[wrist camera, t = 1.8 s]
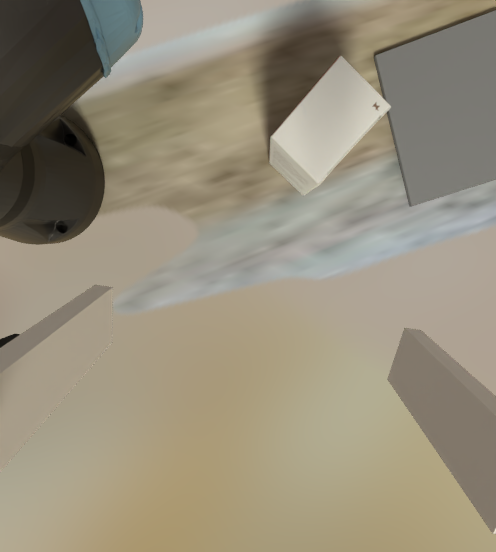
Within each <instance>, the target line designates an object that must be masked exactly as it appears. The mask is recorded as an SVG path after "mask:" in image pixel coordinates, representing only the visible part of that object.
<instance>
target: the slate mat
mask: <svg viewBox="0 0 496 552" xmlns="http://www.w3.org/2000/svg"><path fill="white" fill-rule="evenodd" d="M374 61H375V65H376V69H377V73H378V77H379V81H380V85H381V90H382V94H383V98H384V100H385V101H386V102H387V103H388V104H389V105H390V106H391V108H390V109H389V110H388V111H387V114H388V119H389V123H390V127H391V131H392V135H393V139H394V144H395V148H396V152H397V156H398V160H399V164H400V168H401V173H402V177H403V181H404V185H405V189H406V193H407V197H408V202H409V206H414V205H417V204H421V203H424V202H427V201H430V200H433V199H436V198H439V197H442V196H446V195H449V194H452V193H455V192H458V191H461V190H464V189H468V188H471V187H474V186H477V185H480V184H483V183H486V182H489V181H493V180H496V10H495V11H492V12H490V13H487V14H484V15H482V16H479V17H476V18H474V19H471V20H468V21H466V22H463V23H460V24H458V25H455V26H452V27H450V28H447V29H444V30H442V31H439V32H436V33H434V34H431V35H428V36H426V37H423V38H420V39H418V40H415V41H412V42H410V43H407V44H404V45H402V46H399V47H397V48H394V49H391V50H389V51H386V52H383V53H381V54H378V55H375V57H374Z"/></svg>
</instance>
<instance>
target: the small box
mask: <svg viewBox="0 0 496 552" xmlns="http://www.w3.org/2000/svg"><path fill="white" fill-rule="evenodd" d="M390 108H391V106H390V105H389V104H388V103H387V102H386V101H385V100H384V99H383V97H382V96H381V95H380V94H379V93H378V92H377V91H376V90H375V89H374V88H373V87H372V86H371V85H370V84H369V83H368V82H367V81H366V80H365V79H364V78H363V77H362V76H361V75H360V74H359V73H358V72H357V71H356V70H355V69H354V68H353V67H352V66H351V65H350V64H349V63H348V62H347V61H346V60H345V59H344V58H343V57H342V56H339V57H338V58H337V59H336V60H335V62H334V63H333V64H332V65H331V66H330V67H329V69H328V70H327V71H326V72H325V73H324V74H323V76H322V77H321V78H320V79H319V80H318V81H317V83H316V84H315V85H314V86H313V87H312V88H311V90H310V91H309V92H308V93H307V94H306V95H305V97H304V98H303V99H302V100H301V101H300V102H299V104H298V105H297V106H296V107H295V108H294V109H293V111H292V112H291V113H290V114H289V115H288V117H287V118H286V119H285V120H284V121H283V122H282V123H281V125H280V126H279V127H278V128H277V129H276V131H275V132H274V133H273V134H272V135H271V137H270V158H269V163H270V164H271V165H272V166H273V167H274V168H275V169H276V170H277V171H278V172H279V173H280V174H281V175H282V176H283V177H284V178H285V179H286V180H287V181H288V182H289V183H290V184H291V185H293V186H294V187H295V188H296V189H297V190H298V191H299V192H300V193H301V194H302V195H305V194H307V193H308V192H310V191H311V190H313V189H314V188H316V187H317V186H318V185H320V184H321V183H322V182H323V180H324V179H325V178H326V177H327V176H328V174H329V173H330V172H331V171H332V170H333V169H334V168H335V167H336V165H337V164H338V163H339V162H340V161H341V160H342V159H343V158H344V157H345V156H346V155H347V153H348V152H349V151H350V150H351V149H352V148H353V147H354V146H355V145H356V144H357V143H358V142H359V140H360V139H361V138H362V137H363V136H364V135H365V134H366V133H367V132H368V131H369V130H370V129H371V128H372V127H373V126H374V125H375V123H376V122H377V121H378V120H379V119H380V118H381V117H382V116H383V115H384V114H385V113H386V112H387V111H388V110H389V109H390Z"/></svg>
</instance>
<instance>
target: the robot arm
mask: <svg viewBox="0 0 496 552" xmlns="http://www.w3.org/2000/svg"><path fill="white" fill-rule="evenodd" d="M142 27H143V12H142V6H141V2H140V0H0V236H2V237H5V238H8V239H11V240H14V241H17V242H21V243H26V244H53V243H60V242H64V241H67V240H69V239H72V238H74V237H76V236H77V235H79V234H80V233H82V232H83V231H84V230H85V229H86V228H87V227H88V226H89V225H90V224H91V223H92V221H93V220H94V219H95V217H96V215H97V213H98V211H99V209H100V206H101V203H102V199H103V194H104V174H103V168H102V164H101V161H100V158H99V155H98V153H97V151H96V149H95V147H94V145H93V144H92V142H91V141H90V139H89V138H88V137H87V135H86V134H85V133H84V132H83V131H82V130H81V129H80V128H79V127H78V126H77V125H75V124H74V123H73V122H71V121H70V120H68V119H67V118H65V117H63V116H61V114H62V113H63V112H64V111H65V110H66V109H67V108H69V107H70V106H71V105H72V104H73V103H74V102H75V101H76V100H77V99H79V98H80V97H81V96H82V95H83V94H84V93H85V92H86V91H87V90H89V89H90V88H91V87H92V86H93V85H94V84H95V83H96V82H98V81H99V80H100V79H101V78H102V77H103V76H104V77H105V78H106V77H107V76H108V75H110V72H111V67H112V66H113V65H114V64H115V63H116V62H117V61H118V60H119V59H120V58H121V57H122V56H123V55H124V54H125V53H126V52H127V51H128V50H129V49H130V48H131V47H132V45H134V43H135V42H136V41H137V40H138V38H139V36H140V34H141V31H142ZM112 315H113V287H107V286H100V285H94V286H93V287H91V288H90V289H88V290H87V291H85V292H84V293H82V294H81V295H79V296H78V297H76V298H75V299H73V300H72V301H70V302H69V303H67V304H66V305H64V306H63V307H61V308H60V309H58V310H57V311H55V312H54V313H52V314H51V315H49V316H48V317H46V318H44V319H43V320H41V321H40V322H39V323H37V324H36V325H34V326H32V327H31V328H29V329H28V330H26V331H25V332H23V333H22V334H13V335H10V336H8V337H5V338H2V339H0V472H1V471H2V470H3V468H4V467H5V466H6V465H7V464H8V463H9V461H10V460H11V459H12V458H13V457H14V456H15V454H16V453H17V452H18V451H19V450H20V449H21V448H22V446H23V445H24V444H25V443H26V442H27V441H28V439H29V438H30V437H31V436H32V435H33V434H34V432H35V431H36V430H37V429H38V428H39V427H40V426H41V424H42V423H43V422H44V421H45V420H46V418H47V417H48V416H49V415H50V414H51V413H52V412H53V410H54V409H55V408H56V407H57V406H58V405H59V403H60V402H61V401H62V400H63V399H64V398H65V396H66V395H67V394H68V393H69V392H70V391H71V390H72V388H73V387H74V386H75V385H76V384H77V383H78V382H79V380H80V379H81V378H82V377H83V376H84V375H85V373H86V372H87V371H88V370H89V369H90V368H91V366H92V365H93V364H94V363H95V362H96V361H97V360H98V358H99V357H100V356H101V355H102V354H103V353H104V351H105V350H106V349H107V348H108V347H109V346H110V344H111V343H112ZM388 381H389V382H390V384H391V385H392V387H393V388H394V390H395V391H396V393H397V394H398V396H399V397H400V399H401V400H402V401H403V403H404V404H405V406H406V407H407V409H408V410H409V412H410V413H411V415H412V416H413V418H414V419H415V420H416V422H417V423H418V425H419V426H420V428H421V429H422V431H423V432H424V433H425V435H426V437H427V438H428V440H429V441H430V443H431V444H432V445H433V447H434V448H435V450H436V451H437V453H438V454H439V456H440V457H441V459H442V460H443V462H444V463H445V464H446V466H447V467H448V469H449V470H450V472H451V473H452V475H453V476H454V478H455V479H456V481H457V482H458V483H459V485H460V486H461V488H462V489H463V491H464V492H465V494H466V495H467V497H468V498H469V500H470V501H471V503H472V504H473V506H474V507H475V508H476V510H477V511H478V513H479V514H480V516H481V517H482V519H483V520H484V522H485V523H486V525H487V526H488V528H489V529H490V531H491V532H492V533H493V534H496V396H495V395H494V394H493V393H492V392H490V391H489V390H488V389H487V388H486V387H485V386H484V385H482V384H481V383H480V382H479V381H478V380H477V379H475V377H473V376H472V375H471V374H470V373H469V372H468V371H467V370H466V369H464V368H463V367H462V366H461V365H460V364H459V363H458V362H456V361H455V360H454V359H453V358H452V357H451V356H449V354H447V353H446V352H445V351H444V350H443V349H441V348H440V347H439V346H438V345H437V344H436V343H435V342H434V341H433V340H432V339H430V338H429V337H428V336H427V335H426V334H425V333H424V332H423V331H421V330H416V329H409V328H404V331H403V334H402V337H401V340H400V343H399V346H398V349H397V352H396V355H395V358H394V361H393V364H392V367H391V370H390V373H389V376H388Z"/></svg>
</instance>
